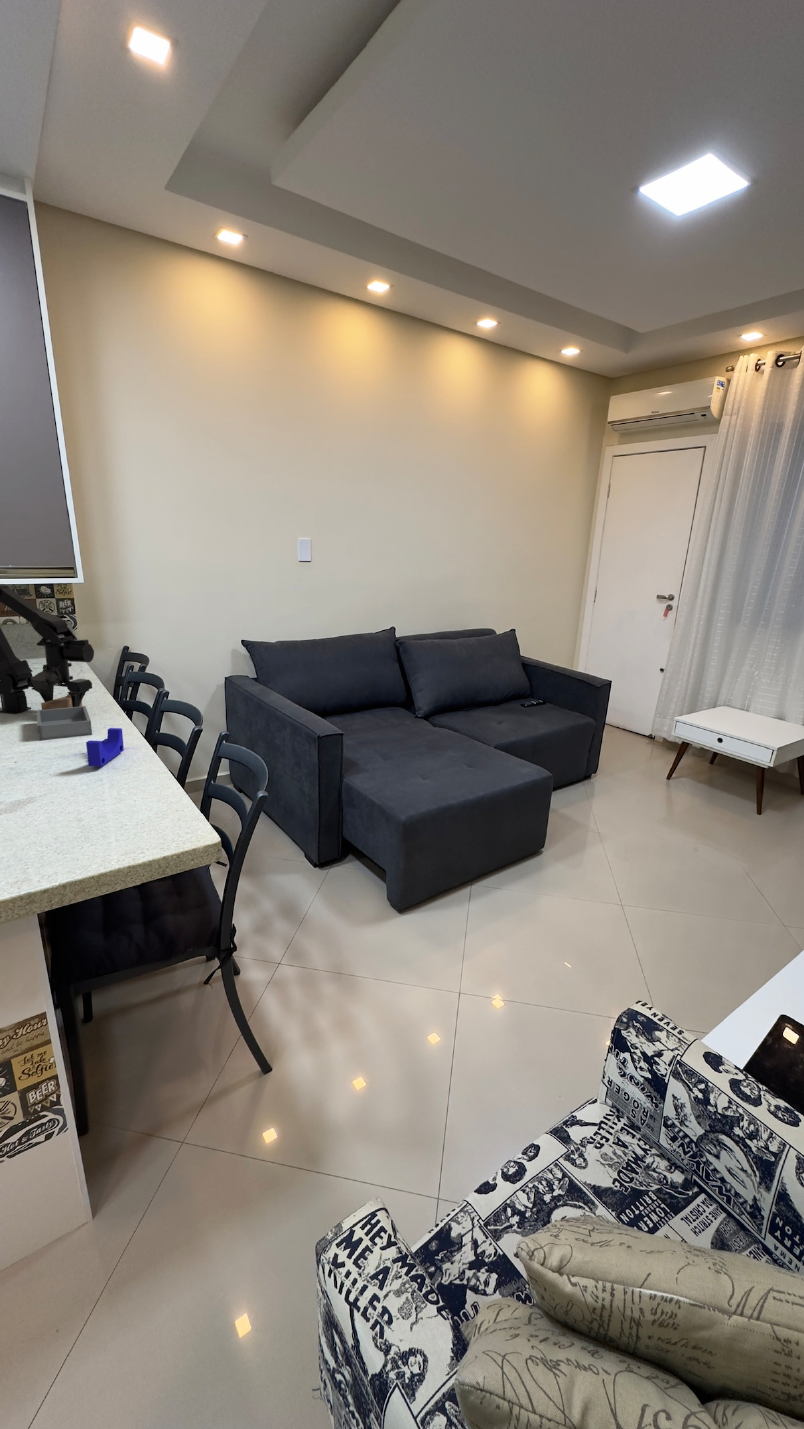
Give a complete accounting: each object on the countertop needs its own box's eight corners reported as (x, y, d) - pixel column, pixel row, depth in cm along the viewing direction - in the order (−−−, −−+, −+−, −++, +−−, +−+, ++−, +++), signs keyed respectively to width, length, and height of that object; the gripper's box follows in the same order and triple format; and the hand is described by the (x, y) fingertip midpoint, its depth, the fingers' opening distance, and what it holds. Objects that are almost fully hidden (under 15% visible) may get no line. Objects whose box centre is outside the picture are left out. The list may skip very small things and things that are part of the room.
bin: (38, 723, 171) (36, 710, 170) (86, 718, 178) (85, 706, 177) (39, 740, 157) (37, 726, 156) (92, 734, 163) (90, 721, 162)
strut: (42, 719, 176) (40, 701, 175) (73, 709, 187) (71, 692, 186) (53, 720, 175) (50, 702, 174) (82, 710, 187) (81, 693, 185)
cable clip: (106, 749, 153) (104, 727, 151) (123, 750, 153) (121, 728, 151) (82, 765, 141) (79, 742, 140) (101, 766, 141) (98, 742, 140)
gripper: (8, 662, 171) (15, 713, 175) (62, 667, 167) (68, 720, 171) (39, 656, 182) (45, 705, 186) (91, 661, 178) (96, 710, 182)
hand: (62, 710), depth 181 cm, fingers open, 9 cm apart
